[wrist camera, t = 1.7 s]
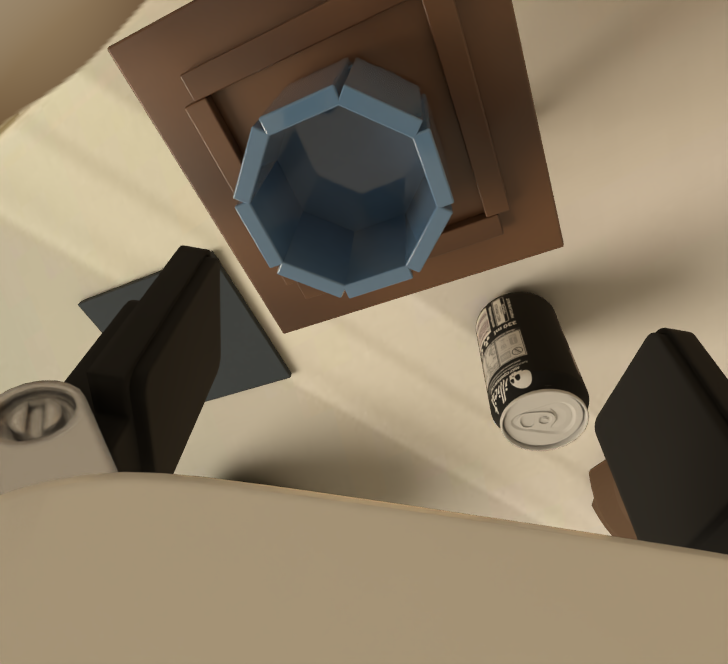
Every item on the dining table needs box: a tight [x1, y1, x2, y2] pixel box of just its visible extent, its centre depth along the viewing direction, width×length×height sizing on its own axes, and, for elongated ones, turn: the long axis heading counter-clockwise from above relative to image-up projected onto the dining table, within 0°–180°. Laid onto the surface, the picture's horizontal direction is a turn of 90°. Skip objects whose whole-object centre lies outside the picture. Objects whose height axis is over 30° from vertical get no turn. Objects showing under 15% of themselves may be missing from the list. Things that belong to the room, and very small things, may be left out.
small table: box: [108, 0, 564, 333], centre depth 27 cm, size 14×14×17 cm
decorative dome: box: [589, 460, 638, 540], centre depth 51 cm, size 19×20×10 cm
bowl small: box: [233, 57, 454, 298], centre depth 19 cm, size 7×7×5 cm
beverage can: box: [476, 292, 589, 451], centre depth 39 cm, size 7×7×12 cm
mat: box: [78, 251, 291, 402], centre depth 47 cm, size 14×14×1 cm
